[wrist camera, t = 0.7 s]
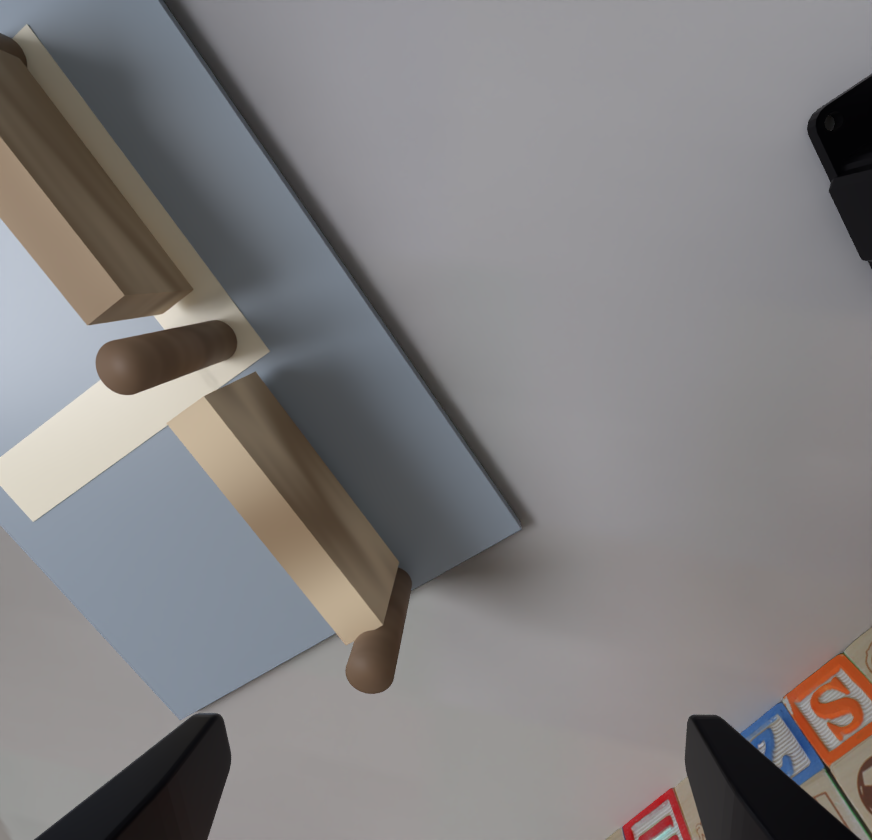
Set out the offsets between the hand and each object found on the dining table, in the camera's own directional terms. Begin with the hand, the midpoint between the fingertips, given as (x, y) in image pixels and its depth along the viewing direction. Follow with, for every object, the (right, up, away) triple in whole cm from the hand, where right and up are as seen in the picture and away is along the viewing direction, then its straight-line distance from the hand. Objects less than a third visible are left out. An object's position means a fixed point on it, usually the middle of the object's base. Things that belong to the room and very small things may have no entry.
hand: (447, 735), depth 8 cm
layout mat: (-10, +6, +11) cm, 17 cm away
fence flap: (-4, +2, +11) cm, 12 cm away
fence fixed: (-10, +12, +10) cm, 19 cm away
